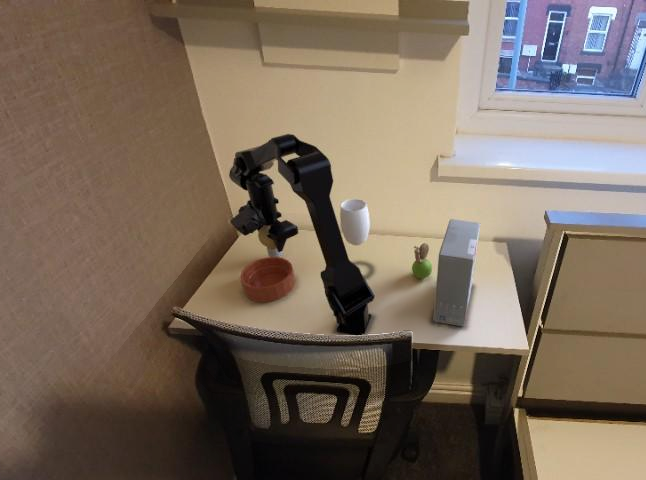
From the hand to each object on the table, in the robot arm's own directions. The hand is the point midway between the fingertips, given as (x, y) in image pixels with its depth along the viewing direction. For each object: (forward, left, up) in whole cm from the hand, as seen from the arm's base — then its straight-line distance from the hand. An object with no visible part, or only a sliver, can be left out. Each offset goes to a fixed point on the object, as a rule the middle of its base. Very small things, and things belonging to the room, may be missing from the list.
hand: (273, 247), depth 108 cm
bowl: (-4, +11, -4) cm, 12 cm away
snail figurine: (-41, -1, -4) cm, 41 cm away
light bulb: (0, 0, -3) cm, 3 cm away
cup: (-24, 0, -4) cm, 24 cm away
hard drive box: (-51, +7, -4) cm, 52 cm away
